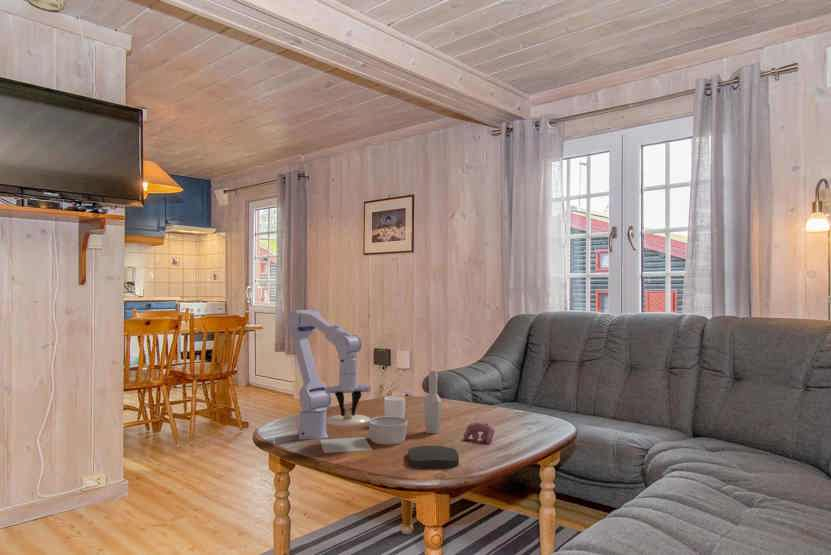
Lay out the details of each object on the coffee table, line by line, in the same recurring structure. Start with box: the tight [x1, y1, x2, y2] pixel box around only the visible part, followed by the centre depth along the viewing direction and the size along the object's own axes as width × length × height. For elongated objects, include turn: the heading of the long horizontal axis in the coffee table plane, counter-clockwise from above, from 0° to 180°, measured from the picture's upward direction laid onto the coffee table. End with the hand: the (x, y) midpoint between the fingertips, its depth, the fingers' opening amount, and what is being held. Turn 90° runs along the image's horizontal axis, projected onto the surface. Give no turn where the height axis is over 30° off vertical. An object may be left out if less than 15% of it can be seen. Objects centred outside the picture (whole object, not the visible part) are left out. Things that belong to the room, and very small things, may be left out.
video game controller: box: [463, 422, 496, 445], centre depth 191 cm, size 10×5×7 cm, turn 60°
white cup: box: [383, 395, 406, 418], centre depth 211 cm, size 8×8×10 cm
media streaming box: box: [407, 444, 460, 469], centre depth 169 cm, size 15×15×3 cm
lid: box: [326, 407, 371, 427], centre depth 182 cm, size 14×14×4 cm
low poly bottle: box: [423, 369, 443, 434], centre depth 201 cm, size 6×6×22 cm
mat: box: [319, 436, 373, 454], centre depth 183 cm, size 15×15×1 cm
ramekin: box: [367, 415, 409, 446], centre depth 189 cm, size 13×13×7 cm
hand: (347, 415), depth 182 cm, fingers closed on lid, 3 cm apart
